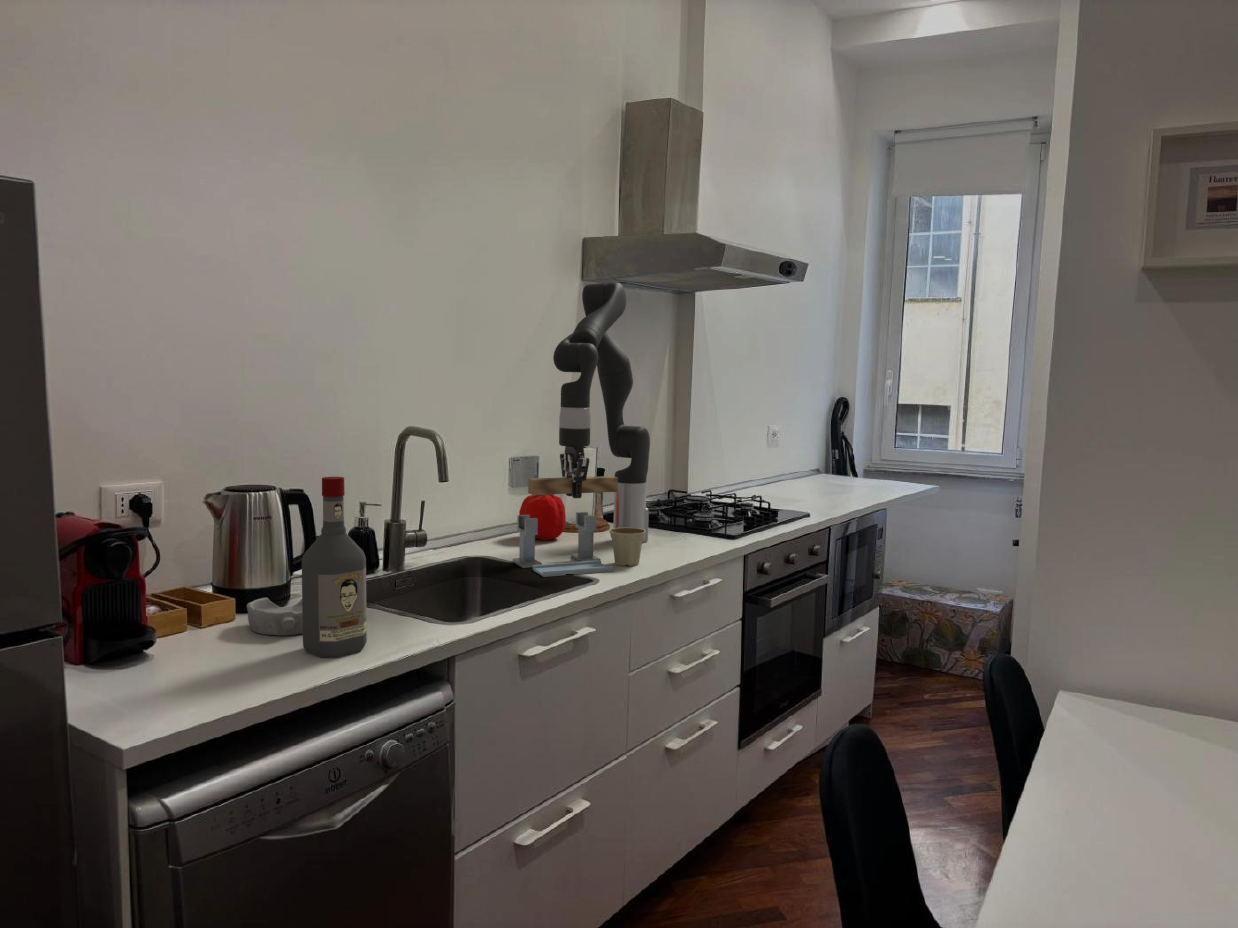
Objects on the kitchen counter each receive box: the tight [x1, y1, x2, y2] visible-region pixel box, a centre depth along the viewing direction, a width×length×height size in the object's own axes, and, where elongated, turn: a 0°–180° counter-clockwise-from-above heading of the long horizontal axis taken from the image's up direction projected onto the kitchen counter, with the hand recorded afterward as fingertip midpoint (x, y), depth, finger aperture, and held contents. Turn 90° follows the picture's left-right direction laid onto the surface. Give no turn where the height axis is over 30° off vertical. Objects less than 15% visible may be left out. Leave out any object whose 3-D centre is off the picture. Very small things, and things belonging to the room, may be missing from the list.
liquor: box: [301, 476, 368, 659], centre depth 158 cm, size 9×9×30 cm
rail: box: [527, 475, 618, 495], centre depth 223 cm, size 22×4×4 cm, turn 115°
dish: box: [246, 597, 303, 636], centre depth 172 cm, size 14×14×5 cm
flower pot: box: [608, 527, 646, 567], centre depth 234 cm, size 9×9×9 cm
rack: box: [512, 511, 602, 569], centre depth 234 cm, size 21×8×12 cm, turn 115°
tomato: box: [518, 494, 567, 541], centre depth 266 cm, size 16×14×14 cm
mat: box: [532, 559, 614, 578], centre depth 225 cm, size 18×8×1 cm, turn 115°
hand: (573, 496), depth 223 cm, fingers closed on rail, 3 cm apart
